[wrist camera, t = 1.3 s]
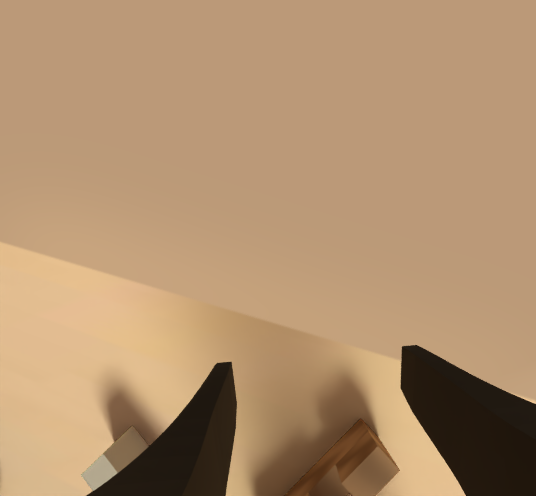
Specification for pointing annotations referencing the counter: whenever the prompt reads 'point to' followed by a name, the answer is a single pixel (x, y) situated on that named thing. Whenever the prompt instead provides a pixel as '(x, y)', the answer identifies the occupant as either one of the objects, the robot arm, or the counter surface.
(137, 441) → the grey rectangular bar
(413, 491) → the counter surface
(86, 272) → the counter surface
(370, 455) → the brown flat bar
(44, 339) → the counter surface
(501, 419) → the robot arm
